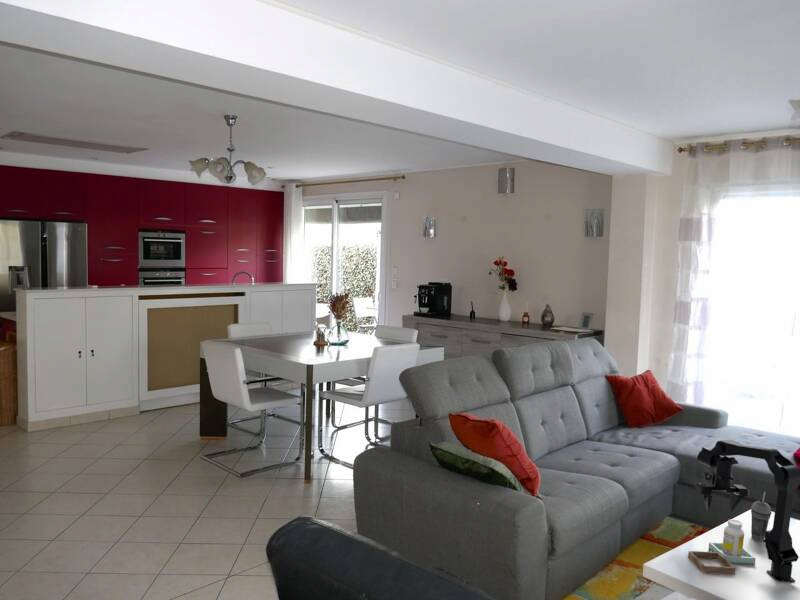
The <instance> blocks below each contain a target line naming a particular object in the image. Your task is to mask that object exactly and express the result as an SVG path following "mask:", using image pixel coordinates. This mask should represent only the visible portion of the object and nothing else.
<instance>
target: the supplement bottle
mask: <svg viewBox="0 0 800 600" xmlns="http://www.w3.org/2000/svg"><path fill="white" fill-rule="evenodd" d="M742 528H743V523H742V521H739V520H738V519H737V520H736V519H733V518H732V519H728V520H727V525H726V526H725V527H724V530H723V538H722V543H723V547H722V552H723V554H724V555H726V556H738V557H742V551H743V548H744V538H745V531H744V530H743V529H742Z"/></svg>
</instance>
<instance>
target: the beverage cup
mask: <svg viewBox="0 0 800 600" xmlns="http://www.w3.org/2000/svg"><path fill="white" fill-rule="evenodd" d="M765 497H766V491H763V496H762V500H756V501H754V502H753V503H752V504H751V507H750V512H751V531H750V532H751V539H753V540H754V541H757V542H763V541H764V540H765V532H766V531H768V526H769V521H770V518H771V515H772V508H771V506H770V505H769V503H767V502H766V501H765Z"/></svg>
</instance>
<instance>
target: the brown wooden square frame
mask: <svg viewBox="0 0 800 600" xmlns="http://www.w3.org/2000/svg"><path fill="white" fill-rule="evenodd" d="M687 558H688V560H690V561H691V562H692V563H693V564H694V565H695V567H696V568H697V569H699V570H700V572H701V573H702V574H703V575H704V574H705V575H706V574H707V575H708V574H710V575H728V576H729V575H733V576H734V575H736V569H737V568H736V566H734V565H733V564H731V563H730V562H729V561H728V560H727V559H726V558H724V557H723V556H722V555H721V554H720V553H719V552H712V551H700V550H699V551H698V550H695V551H694V550H688V555H687ZM701 560H717V562H719V563H720V564H721V565H722V566H720V565H719V566H717V565H715V566H714V565H706V564H704V562H702V561H701Z"/></svg>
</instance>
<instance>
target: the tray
mask: <svg viewBox="0 0 800 600" xmlns="http://www.w3.org/2000/svg"><path fill="white" fill-rule="evenodd" d="M722 547H723V542H717V541H716V542H715V541H711V542H710V541H709V542H708V549H709V550H710V552H719V553H720V554H721V555H722V556H723V557H724V558H726V559H727V560H728V561H729V562H730V563H731V564H732V565H733V564H734V565H750V566H751V565H752V566H753V565H754V566H755V565H756V557H755V556H754V555H752V554H751V553H750V552H749V551H748V550H746V549H745V547H743V551H742V557H738V556H726V555H724V554H723V552H722Z"/></svg>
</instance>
